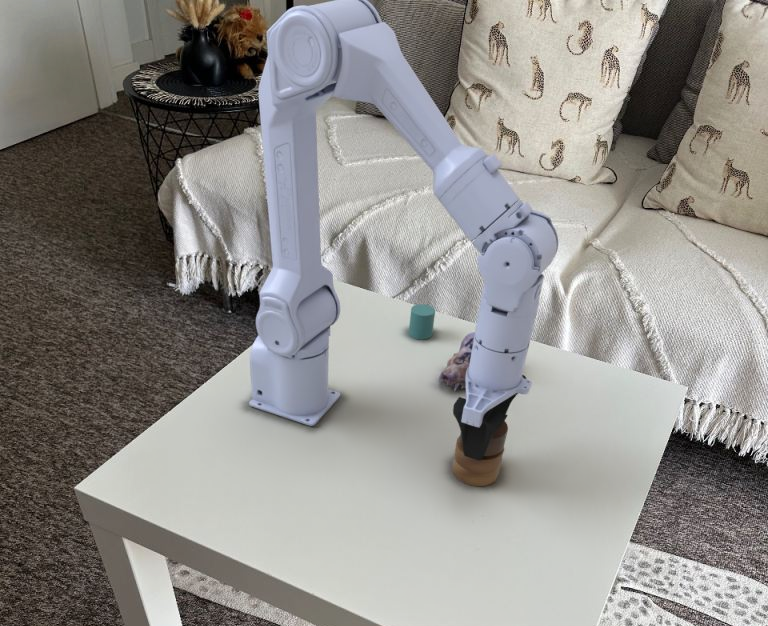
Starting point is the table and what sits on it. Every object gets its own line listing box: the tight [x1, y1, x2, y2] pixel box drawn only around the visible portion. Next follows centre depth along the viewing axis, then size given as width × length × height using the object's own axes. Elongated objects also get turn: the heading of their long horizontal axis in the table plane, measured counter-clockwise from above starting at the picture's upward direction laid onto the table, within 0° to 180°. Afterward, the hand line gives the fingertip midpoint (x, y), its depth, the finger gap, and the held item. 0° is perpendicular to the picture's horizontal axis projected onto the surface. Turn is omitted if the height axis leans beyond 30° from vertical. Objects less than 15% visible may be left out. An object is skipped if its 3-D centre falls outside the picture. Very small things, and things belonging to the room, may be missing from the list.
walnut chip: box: [459, 420, 509, 456], centre depth 81 cm, size 5×5×2 cm
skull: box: [438, 331, 475, 392], centre depth 99 cm, size 12×8×6 cm, turn 129°
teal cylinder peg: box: [408, 303, 436, 341], centre depth 107 cm, size 4×4×4 cm
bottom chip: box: [451, 456, 501, 487], centre depth 85 cm, size 6×6×2 cm
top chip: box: [453, 435, 505, 473], centre depth 83 cm, size 6×6×2 cm
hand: (480, 442), depth 82 cm, fingers closed on walnut chip, 5 cm apart
